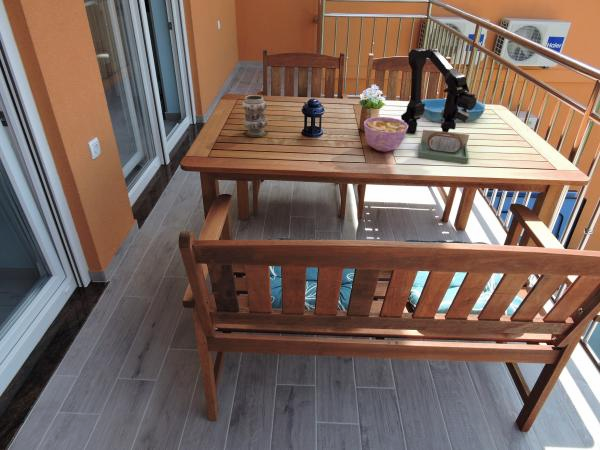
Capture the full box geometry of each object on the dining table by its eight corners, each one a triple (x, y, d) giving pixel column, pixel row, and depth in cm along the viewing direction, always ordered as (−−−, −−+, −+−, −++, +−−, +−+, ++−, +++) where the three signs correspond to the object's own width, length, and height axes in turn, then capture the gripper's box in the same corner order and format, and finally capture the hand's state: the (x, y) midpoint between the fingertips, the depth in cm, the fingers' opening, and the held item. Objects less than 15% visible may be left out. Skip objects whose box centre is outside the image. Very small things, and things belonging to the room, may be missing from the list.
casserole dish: (425, 124, 223) (427, 111, 219) (411, 111, 241) (413, 98, 237) (490, 122, 227) (493, 110, 223) (471, 109, 245) (474, 97, 241)
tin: (459, 152, 191) (464, 134, 186) (460, 154, 189) (464, 137, 184) (426, 147, 195) (429, 130, 190) (425, 150, 192) (429, 133, 187)
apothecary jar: (262, 127, 215) (261, 92, 205) (271, 135, 206) (270, 99, 196) (240, 131, 211) (237, 95, 201) (248, 139, 202) (246, 102, 192)
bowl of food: (369, 136, 207) (372, 114, 200) (409, 144, 199) (413, 121, 193) (355, 151, 192) (357, 127, 186) (397, 160, 185) (401, 135, 178)
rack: (418, 157, 187) (421, 141, 183) (420, 144, 200) (423, 129, 196) (466, 163, 183) (471, 147, 179) (465, 149, 196) (469, 134, 192)
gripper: (471, 112, 179) (463, 146, 188) (469, 99, 194) (461, 131, 202) (444, 109, 181) (437, 143, 190) (444, 96, 196) (437, 128, 205)
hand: (444, 136), depth 197 cm, fingers closed
